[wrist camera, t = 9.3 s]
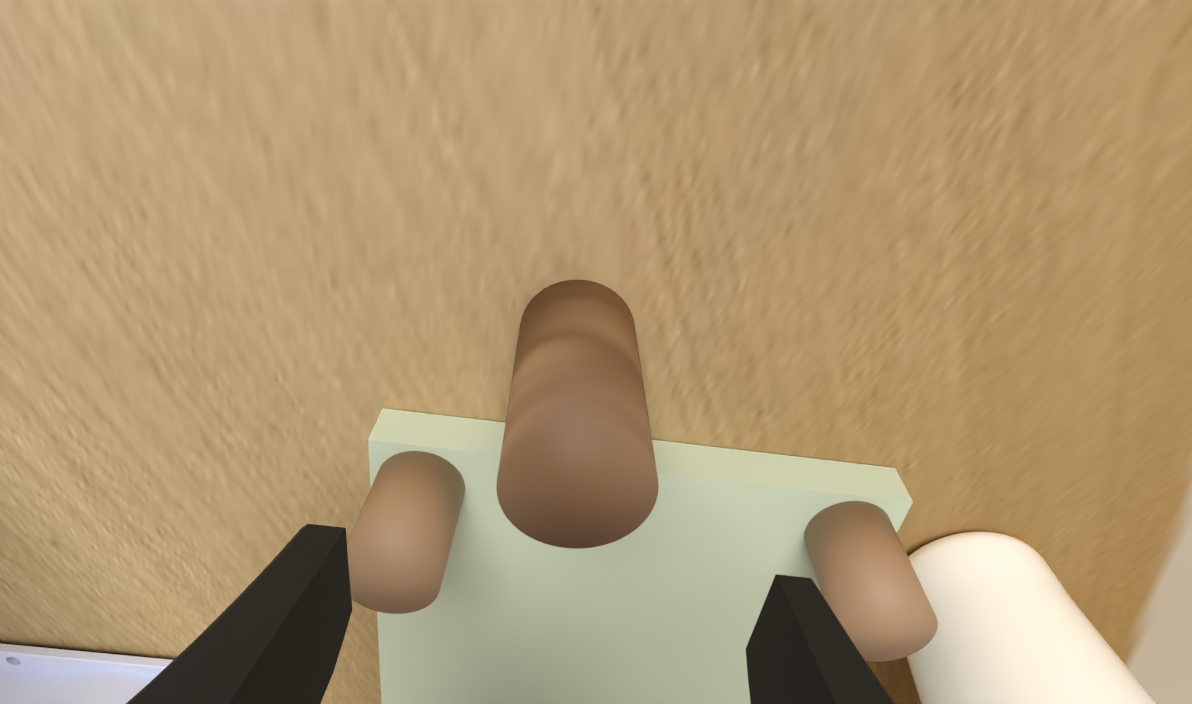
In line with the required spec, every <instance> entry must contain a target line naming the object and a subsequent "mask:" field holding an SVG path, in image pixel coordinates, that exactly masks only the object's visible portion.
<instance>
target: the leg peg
mask: <svg viewBox="0 0 1192 704" xmlns="http://www.w3.org/2000/svg"><path fill="white" fill-rule="evenodd" d="M658 487H659V484H658V476H657V469H656V463H655V456H654V450H653V443H652V437H651V430H650V424H649V417H648V411H647V404H646V398H645V391H644V385H643V378H642V372H641V365H640V359H639V352H638V346H637V339H636V333H635V326H634V321H633V317H632V314H631V312H630V309H629V308H628V306H627V304H626V303H625V302H624V301H623V299H622V298H621V297H620V296H619V295H618V294H616V293H615V292H614V291H612V290H611V289H609V288H607V287H606V286H604V285H601V284H598V283H596V282H591V281H586V280H569V281H563V282H559V283H556V284H553V285H551V286H549V287H547V288H545V289H544V290H542V291H541V292H539V293H538V294H537V295H536V296H535V297H534V298H533V299H532V300H531V301H530V303H529V304H528V305H527V307H526V309H525V311H524V313H523V316H522V319H521V323H520V330H519V336H518V343H517V350H516V356H515V363H514V370H513V376H512V383H511V390H510V396H509V403H508V409H507V416H506V423H505V429H504V436H503V443H502V449H501V456H500V463H499V469H498V476H497V485H496V490H497V497H498V501H499V504H500V507H501V509H502V511H503V513H504V514H505V516H506V517H507V519H508V520H509V521H510V522H511V523H512V524H513V525H514V526H515V527H516V528H517V529H518V530H520V531H521V532H522V533H524V534H525V535H527V536H529V537H531V538H533V539H534V540H537V541H539V542H542V543H544V544H548V545H551V546H556V547H562V548H572V549H582V548H592V547H598V546H602V545H606V544H609V543H612V542H615V541H617V540H619V539H622V538H623V537H625V536H627V535H629V534H630V533H632V532H633V531H634V530H636V529H637V528H638V527H639V526H640V525H641V524H642V523H643V522H644V521H645V520H646V519H647V518H648V516H649V515H650V513H651V511H652V510H653V508H654V505H655V503H656V500H657V496H658Z"/></svg>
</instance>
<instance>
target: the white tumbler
mask: <svg viewBox="0 0 1192 704" xmlns="http://www.w3.org/2000/svg"><path fill="white" fill-rule="evenodd" d="M908 558H909V560H910V562H911V565H912V567H913V569H914V571H915V573H916V575H917V577H918V579H919V581H920V583H921V586H922V588H923V590H924V592H925V594H926V596H927V598H928V600H929V602H930V604H931V607H932V609H933V611H934V613H935V615H936V617H937V620H938V628H937V632H936V634H935V636H934V637H933V639H932V640H931V641H930V642H929V643H928V644H927V645H926V646H925V647H924V648H922V649H921V650H919V651H917V652H916V653H914V654H912V655H909V656H907V657H906V658H907V661H908V664H909V667H910V670H911V673H912V676H913V680H914V683H915V686H916V689H917V692H918V695H919V698H920V702H921V704H1157V703H1156V702H1155V701H1154V699H1153V698H1152V697H1151V696H1150V694H1149V693H1148V692H1147V691H1146V689H1145V688H1144V687H1143V686H1142V685H1141V683H1140V682H1139V681H1138V680H1137V679H1136V677H1135V676H1134V675H1133V674H1132V673H1131V671H1130V670H1129V669H1128V668H1127V666H1126V665H1125V664H1124V663H1123V661H1122V660H1121V659H1120V658H1119V657H1118V655H1117V654H1116V653H1115V652H1114V650H1113V649H1112V648H1111V647H1110V646H1109V644H1108V643H1107V642H1106V641H1105V639H1104V638H1103V637H1102V636H1101V635H1100V633H1099V632H1098V631H1097V630H1096V628H1095V627H1094V626H1093V625H1092V623H1091V622H1090V621H1089V620H1088V619H1087V617H1086V616H1085V615H1084V614H1083V612H1082V611H1081V610H1080V609H1079V607H1078V606H1077V605H1076V604H1075V602H1074V601H1073V600H1072V598H1071V597H1070V596H1069V594H1068V593H1067V591H1066V590H1065V588H1064V587H1063V586H1062V584H1061V583H1060V581H1059V580H1058V578H1057V577H1056V575H1055V574H1054V573H1053V571H1052V570H1051V568H1050V567H1049V565H1048V564H1047V563H1046V561H1045V560H1044V559H1043V558H1042V557H1041V555H1040V554H1039V553H1038V552H1037V551H1036V550H1034V549H1033V548H1032V547H1031V546H1029V545H1028V544H1026V543H1024V542H1023V541H1021V540H1019V539H1016V538H1014V537H1012V536H1008V535H1005V534H1000V533H995V532H983V531H978V532H965V533H958V534H954V535H950V536H946V537H943V538H940V539H937V540H935V541H932V542H930V543H928V544H926V545H924V546H922V547H921V548H919V549H917V550H916V551H915V552H913V553H912V554H910V555H909V556H908Z"/></svg>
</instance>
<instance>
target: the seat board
mask: <svg viewBox="0 0 1192 704" xmlns="http://www.w3.org/2000/svg"><path fill="white" fill-rule="evenodd" d="M504 429H505V423H504V422H496V421H487V420H479V419H470V418H462V417H453V416H444V415H436V414H427V413H419V412H410V411H402V410H393V409H384V408H383V409H382V411H381V413H380V415H379V418H378V420H377V422H376V424H375V426H374V428H373V430H372V432H371V435H370V437H369V439H368V449H369V469H370V488H371V489H370V492H369V494H368V496H367V499H366V501H365V503H364V506H363V508H362V510H361V513H360V515H359V517H358V520H357V522H356V524H355V527H354V529H353V531H352V534H351V536H350V538H349V541H348V543H347V552H348V565H349V577H350V589H351V599H353V600H354V601H355V602H357V603H359V604H360V605H362V606H364V607H367V608H369V609H372V610H375V611H377V624H378V643H379V662H380V682H381V701H382V704H751V702H750V693H749V684H748V672H747V660H746V647H747V644H748V642H749V639H750V637H751V634H752V632H753V629H754V627H755V624H756V622H757V619H758V617H759V614H760V612H761V609H762V607H763V604H764V602H765V600H766V597H767V595H768V592H769V590H770V587H771V585H772V582H773V580H774V577H775V575H776V574H778V575H787V576H797V577H806V578H811V579H812V580H813V582H814V583H815V584H816V586H817V587H818V589H819V591H820V592H821V594H822V595H823V597H824V598H825V600H826V601H827V603H828V605H829V606H830V608H831V609H832V611H833V612H834V614H835V615H836V617H837V619H838V620H839V622H840V623H841V625H842V626H843V628H844V629H845V631H846V632H847V634H848V636H849V637H850V639H851V640H852V642H853V643H854V645H855V646H856V648H857V649H858V651H859V652H860V654H861V655H862V657H863V658H864V660H865V661H869V662H885V661H892V660H897V659H901V658H904V657H907V656H909V655H912V654H914V653H916V652H917V651H919V650H921V649H922V648H924V647H925V646H926V645H927V644H928V643H929V642H930V641H931V640H932V639H933V637H934V636H935V634H936V632H937V628H938V620H937V617H936V615H935V613H934V611H933V609H932V607H931V604H930V602H929V600H928V598H927V596H926V594H925V592H924V590H923V588H922V586H921V583H920V581H919V579H918V577H917V575H916V573H915V571H914V569H913V567H912V565H911V562H910V560H909V558H908V556H907V554H906V552H905V550H904V548H903V546H902V544H901V541H900V539H899V537H898V535H897V532H898V530H899V528H900V526H901V524H902V522H903V520H904V518H905V516H906V514H907V512H908V510H909V508H910V506H911V504H912V502H913V501H912V499H911V498H910V496H909V494H908V492H907V490H906V488H905V486H904V484H903V482H902V481H901V479H900V477H899V475H898V473H897V471H896V469H895V468H890V467H882V466H873V465H865V464H856V463H847V462H839V461H830V460H822V459H813V458H805V457H796V456H787V455H779V454H770V453H762V452H753V451H745V450H736V449H727V448H719V447H710V446H702V445H693V444H685V443H676V442H667V441H659V440H652V443H653V450H654V456H655V463H656V469H657V476H658V484H659V487H658V496H657V500H656V503H655V505H654V508H653V510H652V511H651V513H650V515H649V516H648V518H647V519H646V520H645V521H644V522H643V523H642V524H641V525H640V526H639V527H638V528H637V529H636V530H634V531H633V532H632V533H630V534H629V535H627V536H625V537H623V538H622V539H619V540H617V541H615V542H612V543H609V544H606V545H602V546H598V547H592V548H582V549H572V548H562V547H556V546H551V545H548V544H544V543H542V542H539V541H537V540H534V539H533V538H531V537H529V536H527V535H525V534H524V533H522V532H521V531H520V530H518V529H517V528H516V527H515V526H514V525H513V524H512V523H511V522H510V521H509V520H508V519H507V517H506V516H505V514H504V513H503V511H502V509H501V507H500V504H499V501H498V497H497V490H496V485H497V476H498V469H499V463H500V456H501V449H502V443H503V436H504Z"/></svg>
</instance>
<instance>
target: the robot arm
mask: <svg viewBox="0 0 1192 704" xmlns="http://www.w3.org/2000/svg"><path fill="white" fill-rule="evenodd" d="M351 611H352V602H351V589H350V577H349V565H348V552H347V540H346V528H341V527H331V526H322V525H313V524H307V525H306V526H304V527H303V528H301V529H300V530H299V532H298V533H297V534H296V535H295V536H294V537H293V538H292V540H291V541H290V542H289V543H288V544H287V545H286V546H285V547H284V548H283V550H282V551H281V552H280V553H279V554H278V555H277V556H276V557H275V558H274V560H273V561H272V562H271V563H270V564H269V565H268V566H267V567H266V568H265V569H264V570H263V571H262V573H261V574H260V575H259V576H258V577H257V578H256V579H255V580H254V581H253V582H252V583H251V584H250V585H249V586H248V587H247V588H246V590H245V591H244V592H243V593H242V594H241V595H240V596H239V597H238V598H237V599H236V600H235V601H234V602H233V603H232V604H231V605H230V606H229V607H228V608H227V609H226V610H225V611H224V612H223V613H222V614H221V615H220V616H219V617H218V618H217V619H216V620H215V621H214V622H213V623H212V624H211V625H210V626H209V627H208V628H207V629H206V630H205V631H204V632H203V633H202V634H201V635H200V636H199V637H198V638H197V639H196V640H195V641H194V642H193V643H192V644H191V645H190V646H188V647H187V648H186V649H185V650H184V651H183V652H182V653H181V654H180V655H179V656H178V657H177V658H176V659H174V660H171V659H160V658H150V657H139V656H128V655H118V654H107V653H97V652H86V651H76V650H65V649H54V648H44V647H33V646H23V645H12V644H2V643H0V704H320V703H321V700H322V698H323V696H324V693H325V691H326V688H327V686H328V684H329V681H330V679H331V676H332V674H333V671H334V668H335V665H336V662H337V658H338V655H339V652H340V649H341V646H342V642H343V639H344V635H345V632H346V629H347V625H348V622H349V618H350V615H351ZM746 660H747V672H748V684H749V693H750V702H751V704H895V703H894V702H893V700H892V699H891V697H890V696H889V694H888V693H887V692H886V690H885V689H884V687H883V686H882V685H881V683H880V682H879V680H878V679H877V677H876V676H875V675H874V673H873V672H872V670H871V669H870V667H869V666H868V664H867V663H866V661H865V660H864V658H863V657H862V655H861V654H860V652H859V651H858V649H857V648H856V646H855V645H854V643H853V642H852V640H851V639H850V637H849V636H848V634H847V632H846V631H845V629H844V628H843V626H842V625H841V623H840V622H839V620H838V619H837V617H836V615H835V614H834V612H833V611H832V609H831V608H830V606H829V605H828V603H827V601H826V600H825V598H824V597H823V595H822V594H821V592H820V591H819V589H818V587H817V586H816V584H815V583H814V582H813V580H812V579H811V578H806V577H797V576H787V575H778V574H776V575H775V577H774V580H773V582H772V585H771V587H770V590H769V592H768V595H767V597H766V600H765V602H764V604H763V607H762V609H761V612H760V614H759V617H758V619H757V622H756V624H755V627H754V629H753V632H752V634H751V637H750V639H749V642H748V644H747V647H746Z"/></svg>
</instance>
